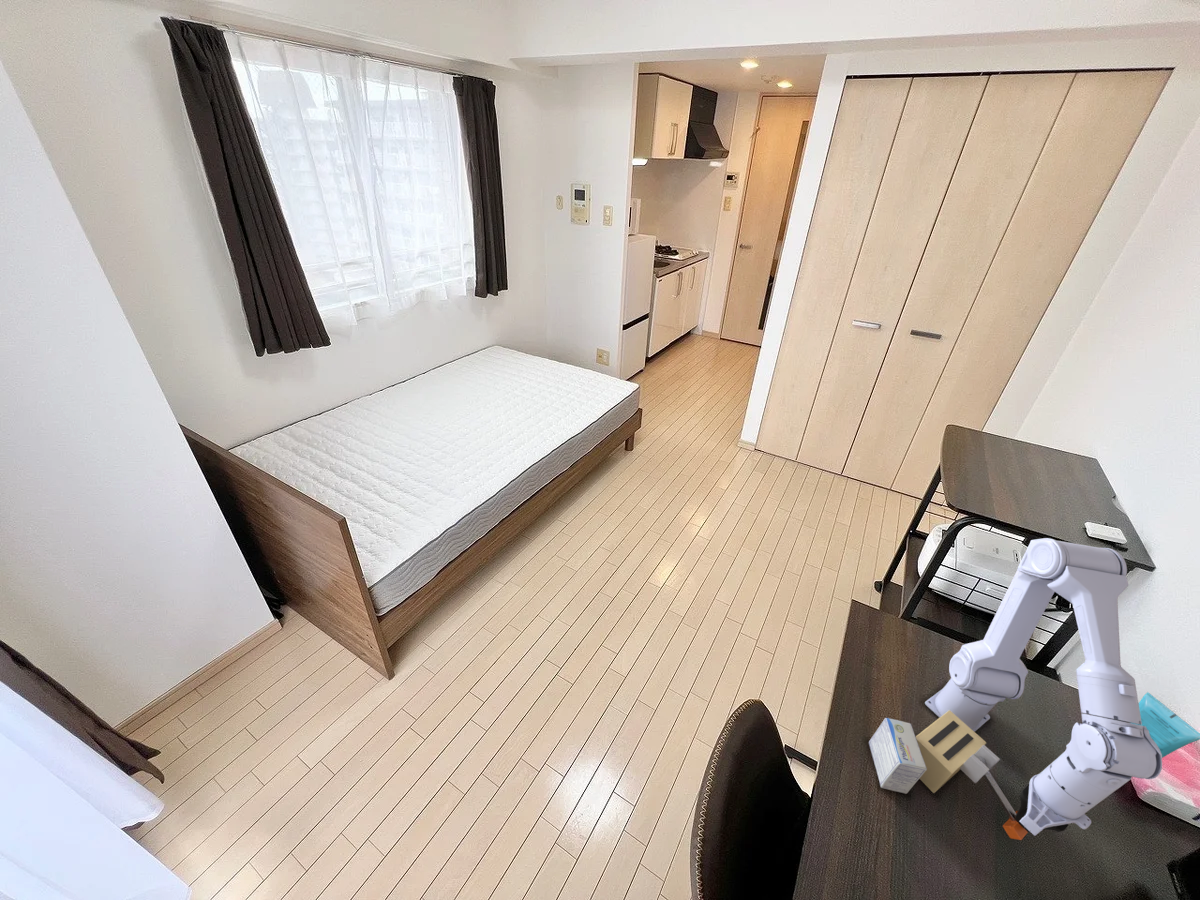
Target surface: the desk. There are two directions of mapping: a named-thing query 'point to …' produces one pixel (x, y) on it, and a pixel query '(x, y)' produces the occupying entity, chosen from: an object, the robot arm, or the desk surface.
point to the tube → (1165, 725)
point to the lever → (1005, 808)
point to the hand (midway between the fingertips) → (1023, 823)
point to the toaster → (952, 752)
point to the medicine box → (897, 756)
